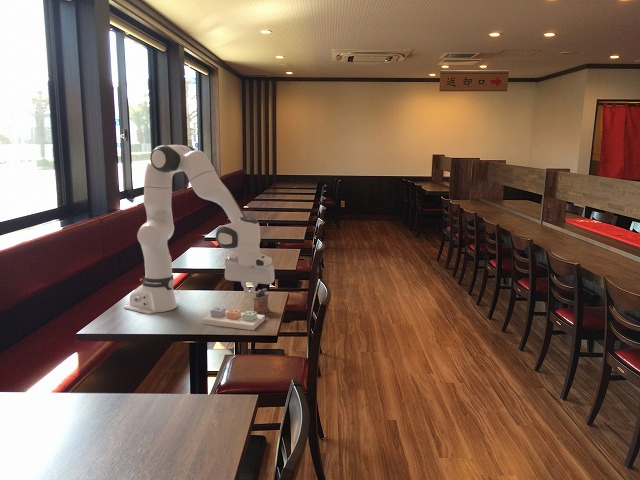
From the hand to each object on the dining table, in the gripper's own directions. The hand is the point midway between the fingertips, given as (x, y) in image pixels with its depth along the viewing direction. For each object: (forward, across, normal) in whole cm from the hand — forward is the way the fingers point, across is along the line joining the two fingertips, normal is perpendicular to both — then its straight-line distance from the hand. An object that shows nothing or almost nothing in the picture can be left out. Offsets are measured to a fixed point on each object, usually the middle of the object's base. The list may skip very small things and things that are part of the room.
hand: (249, 292), depth 202 cm
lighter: (+13, -1, +14) cm, 19 cm away
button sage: (+12, 0, 0) cm, 12 cm away
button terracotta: (+12, -7, 0) cm, 14 cm away
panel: (+13, -7, 0) cm, 15 cm away
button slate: (+12, -14, 0) cm, 18 cm away
